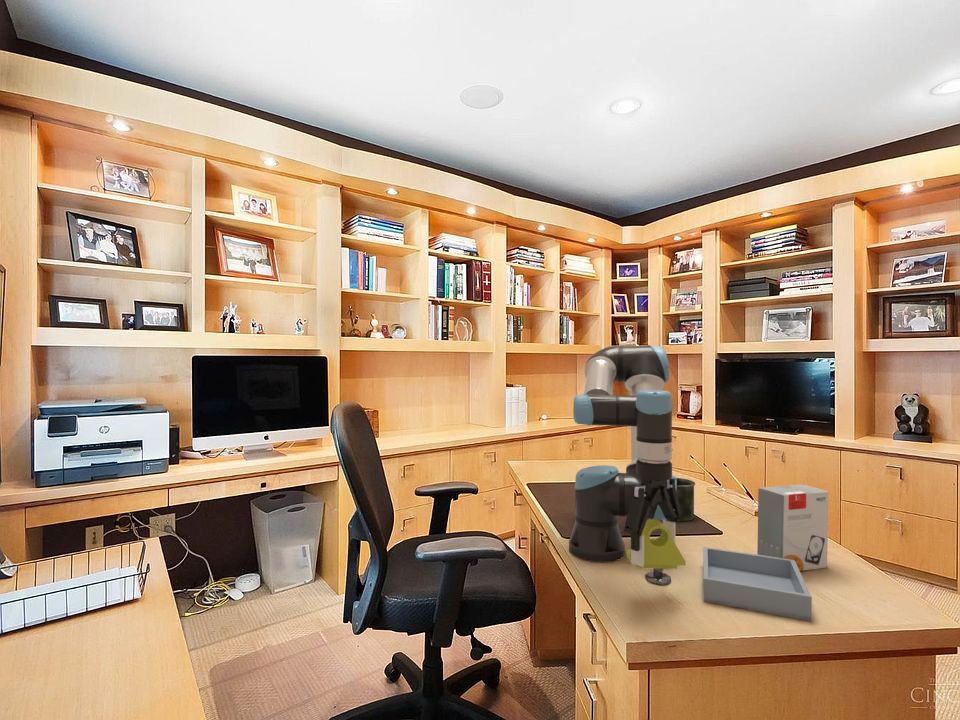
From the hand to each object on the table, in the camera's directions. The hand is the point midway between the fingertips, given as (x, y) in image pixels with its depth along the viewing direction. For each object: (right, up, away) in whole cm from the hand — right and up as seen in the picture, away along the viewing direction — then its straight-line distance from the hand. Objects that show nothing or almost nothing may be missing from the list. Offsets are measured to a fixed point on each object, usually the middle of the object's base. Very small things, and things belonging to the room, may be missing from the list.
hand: (653, 556), depth 107 cm
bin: (+24, -9, +4) cm, 26 cm away
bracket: (0, -2, 0) cm, 2 cm away
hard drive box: (+42, -10, +18) cm, 47 cm away
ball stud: (+5, -10, +10) cm, 14 cm away
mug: (+28, -10, +55) cm, 63 cm away
